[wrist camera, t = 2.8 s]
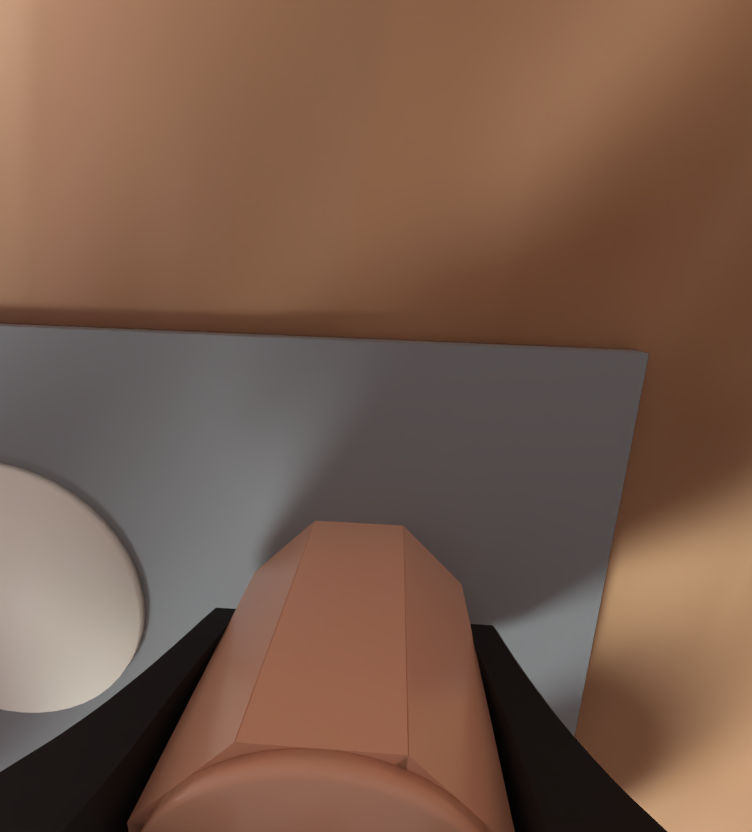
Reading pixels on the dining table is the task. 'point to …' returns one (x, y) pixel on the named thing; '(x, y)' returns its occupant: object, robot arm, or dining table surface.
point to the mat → (331, 471)
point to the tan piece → (337, 702)
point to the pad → (61, 597)
